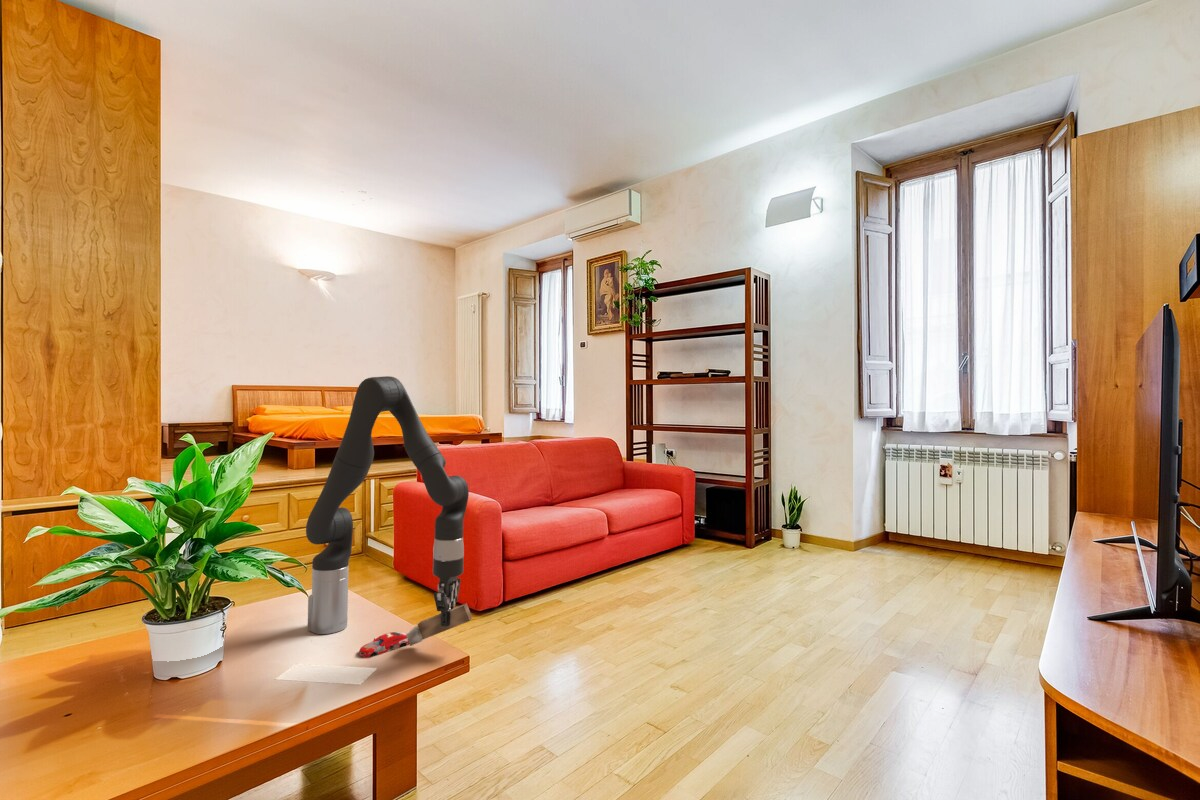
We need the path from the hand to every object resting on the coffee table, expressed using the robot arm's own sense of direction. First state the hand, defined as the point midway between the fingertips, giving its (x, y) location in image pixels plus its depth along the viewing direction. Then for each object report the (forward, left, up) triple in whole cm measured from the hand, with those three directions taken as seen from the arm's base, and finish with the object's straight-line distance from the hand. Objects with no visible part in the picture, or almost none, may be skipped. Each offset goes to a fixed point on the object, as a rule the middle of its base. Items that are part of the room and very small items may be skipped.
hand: (447, 623), depth 146 cm
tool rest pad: (-23, -15, -8) cm, 28 cm away
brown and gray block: (0, 0, -1) cm, 1 cm away
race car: (-16, 0, -8) cm, 18 cm away
